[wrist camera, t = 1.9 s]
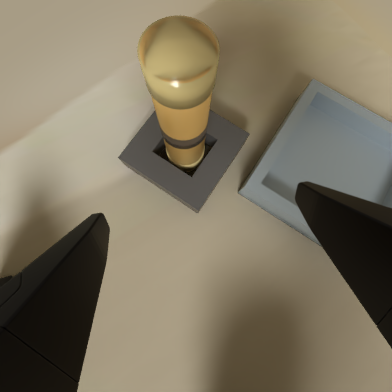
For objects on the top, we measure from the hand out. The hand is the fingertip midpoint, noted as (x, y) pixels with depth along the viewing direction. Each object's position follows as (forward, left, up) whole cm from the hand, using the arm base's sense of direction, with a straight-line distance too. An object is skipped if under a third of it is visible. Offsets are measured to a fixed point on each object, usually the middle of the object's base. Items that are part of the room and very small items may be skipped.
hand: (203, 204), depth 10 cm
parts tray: (-10, -13, -14) cm, 21 cm away
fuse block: (+5, -6, -14) cm, 16 cm away
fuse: (+5, -6, -14) cm, 16 cm away
